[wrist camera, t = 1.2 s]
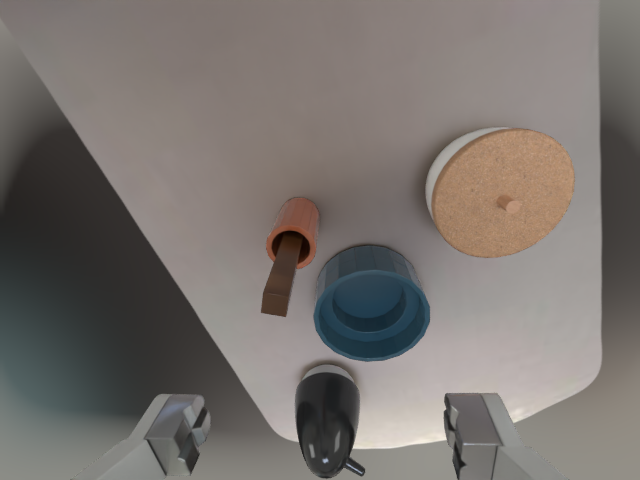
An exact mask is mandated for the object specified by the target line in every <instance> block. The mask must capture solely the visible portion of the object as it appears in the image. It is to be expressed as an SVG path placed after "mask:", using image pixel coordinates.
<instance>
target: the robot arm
mask: <svg viewBox="0 0 640 480" xmlns="http://www.w3.org/2000/svg"><path fill="white" fill-rule="evenodd" d="M444 402H445V406H446V410H445V411H444V428H445V433H446V438H447V441H448V445H449V446H450V447H451V448H452V449H453V464H454V467H455V471H456V474H457V478H458V480H569V479H568V478H567V477H565V476H564V475H563V474H562V473H561V472H559V471H558V470H557V469H556V468H555V467H553V466H552V465H551V464H550V463H549V462H548V461H547V460H545V459H544V458H543V457H542V456H541V455H539V454H538V453H537V452H536V451H535V450H534V449H532V448H531V447H526V446H524V444H523V442H522V440H521V438H520V436H519V434H518V432H517V430H516V428H515V426H514V424H513V422H512V420H511V418H510V416H509V414H508V412H507V409H506V407H505V405H504V403H503V401H502V399H501V397H500V396H499V395H498V394H497V393H446V394H445V399H444ZM204 403H205V401H204V398H203V396H202V395H184V394H160V395H158V396H157V397H155V399H154V400H153V402H152V403H151V405H150V406H149V408H148V410H147V411H146V412H145V414H144V415H143V417H142V418H141V420H140V421H139V423H138V424H137V426H136V427H135V429H134V430H133V432H132V433H131V435H130V437H129V438H128V439H123V440H122V441H121V442H119V443H118V444H117V445H116V446H114V447H113V448H111V449H110V450H109V451H108V452H106V453H105V454H104V455H102V456H101V457H100V458H98V459H97V460H96V461H94V462H93V463H92V464H90V465H89V466H88V467H86V468H85V469H84V470H82V471H81V472H80V473H78V474H77V475H76V476H74V477H73V478H72V479H71V480H164V479H165V478H166V476H170V475H171V476H178V475H179V476H180V475H181V476H186V475H187V476H189V475H191V473H192V471H193V469H194V466H195V464H196V462H197V459H198V457H199V455H200V453H199V448H198V447H199V446H200V445H201V444H202V443H204V441H206V438H207V436H208V433H209V430H210V424H211V418H210V414H209V411H208V410H207V409H206V408H204V407H203V405H204Z"/></svg>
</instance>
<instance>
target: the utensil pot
mask: <svg viewBox="0 0 640 480" xmlns="http://www.w3.org/2000/svg"><path fill="white" fill-rule="evenodd" d="M319 222H320V214H319V210H318V208H317V207H316V205H315V204H314V203H313V202H311V201H310V200H308V199H305V198H293V199H290V200H288V201H287V202H286V203H285V204H284V205H283V206H282V208H281V210H280V212H279V214H278V216H277V219H276V221H275V223H274V225H273V227H272V229H271V232H270V234H269V236H268V238H267V243H266V250H267V253H268V256H269V257H270V258H271V260H272V261H273V262H274V261H275V258H276V255H277V253H278V250H279V247H280V244H281V241H282V239H283V236H284V233H285V231H288V230H291V231H297V232H299V233H301V234H303V235H304V237H303V242H302V247H301V251H300V256H299V260H298V265H297V269H300V268H303V267H304V266H306V265H308V264H309V263H310V262H311V261H312V259H313V258H314V256H315V252H316V245H317V237H318V230H319Z"/></svg>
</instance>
